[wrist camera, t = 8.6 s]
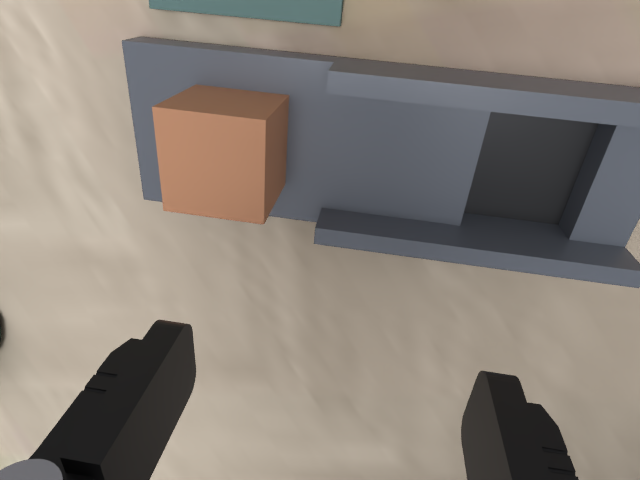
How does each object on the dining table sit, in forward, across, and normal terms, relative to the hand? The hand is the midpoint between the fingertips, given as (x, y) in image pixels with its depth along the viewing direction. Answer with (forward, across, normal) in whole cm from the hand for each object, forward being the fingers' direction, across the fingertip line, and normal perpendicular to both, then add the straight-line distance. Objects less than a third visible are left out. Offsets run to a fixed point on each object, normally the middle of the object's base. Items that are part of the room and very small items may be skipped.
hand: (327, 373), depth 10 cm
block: (+16, +7, 0) cm, 17 cm away
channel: (+18, -2, 0) cm, 18 cm away
